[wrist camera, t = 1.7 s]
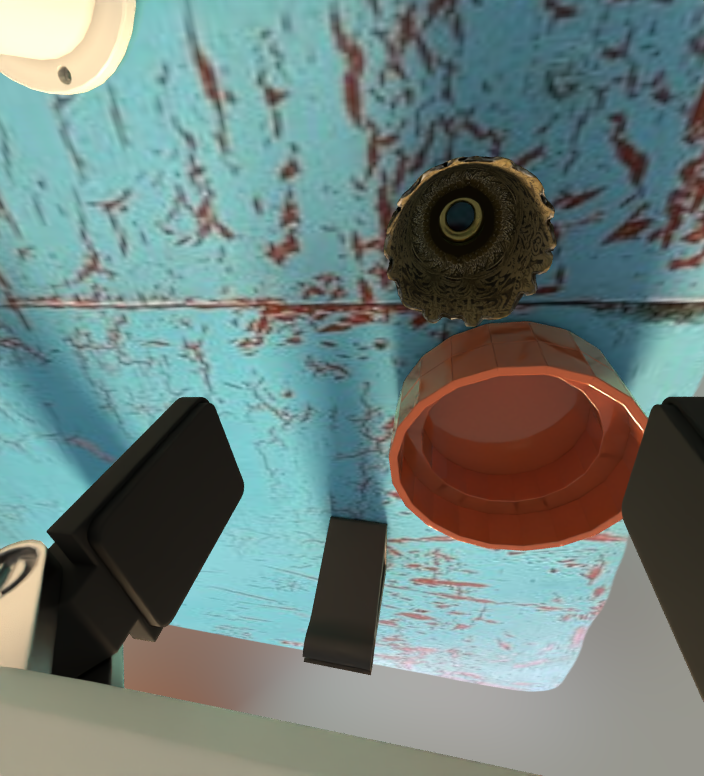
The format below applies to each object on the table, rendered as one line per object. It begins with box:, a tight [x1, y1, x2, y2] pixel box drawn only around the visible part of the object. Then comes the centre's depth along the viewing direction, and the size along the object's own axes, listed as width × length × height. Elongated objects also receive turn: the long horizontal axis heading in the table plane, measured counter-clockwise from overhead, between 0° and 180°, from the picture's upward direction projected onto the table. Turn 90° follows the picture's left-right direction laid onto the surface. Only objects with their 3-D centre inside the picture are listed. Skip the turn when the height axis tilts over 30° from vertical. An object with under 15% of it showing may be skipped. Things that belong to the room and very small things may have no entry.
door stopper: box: [303, 517, 387, 675], centre depth 39 cm, size 9×6×12 cm, turn 2°
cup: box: [384, 156, 557, 327], centre depth 21 cm, size 8×7×8 cm
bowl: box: [389, 321, 648, 551], centre depth 29 cm, size 16×16×6 cm
